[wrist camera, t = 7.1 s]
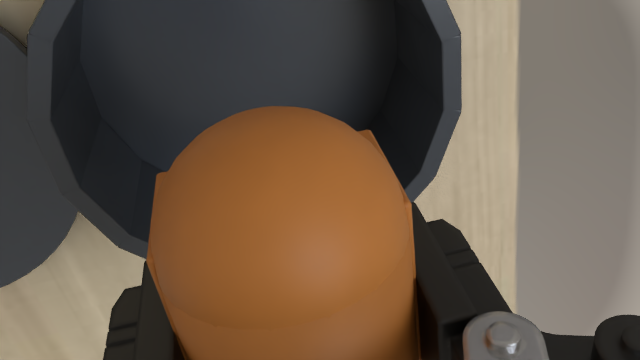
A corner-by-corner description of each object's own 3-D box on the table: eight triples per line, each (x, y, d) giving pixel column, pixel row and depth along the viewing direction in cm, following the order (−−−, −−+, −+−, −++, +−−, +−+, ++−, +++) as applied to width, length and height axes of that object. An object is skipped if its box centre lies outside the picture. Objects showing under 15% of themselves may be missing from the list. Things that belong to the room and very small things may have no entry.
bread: (127, 93, 11) (91, 237, 7) (362, 46, 11) (444, 161, 7) (234, 403, 16) (246, 586, 12) (395, 365, 16) (455, 531, 12)
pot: (1, -101, 20) (-63, -73, 15) (397, -169, 21) (460, -164, 16) (129, 224, 28) (114, 314, 23) (416, 161, 29) (463, 235, 24)
